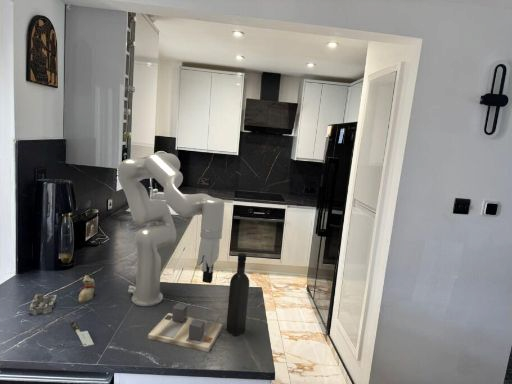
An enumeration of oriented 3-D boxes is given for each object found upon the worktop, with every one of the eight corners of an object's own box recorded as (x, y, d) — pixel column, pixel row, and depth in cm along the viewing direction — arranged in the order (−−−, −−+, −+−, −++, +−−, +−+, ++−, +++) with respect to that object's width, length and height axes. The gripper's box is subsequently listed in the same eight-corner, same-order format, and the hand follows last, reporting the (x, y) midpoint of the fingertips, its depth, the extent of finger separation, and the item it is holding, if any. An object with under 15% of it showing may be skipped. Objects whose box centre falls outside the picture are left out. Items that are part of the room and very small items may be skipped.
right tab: (188, 338, 114) (189, 324, 114) (193, 331, 118) (194, 318, 117) (199, 340, 114) (200, 327, 113) (203, 334, 118) (204, 321, 117)
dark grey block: (172, 320, 124) (172, 308, 123) (176, 315, 128) (177, 302, 127) (182, 322, 123) (183, 310, 123) (186, 317, 127) (187, 304, 126)
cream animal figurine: (99, 296, 140) (99, 274, 138) (80, 303, 133) (80, 280, 132) (92, 292, 143) (92, 270, 141) (73, 298, 136) (73, 275, 135)
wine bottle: (224, 330, 125) (231, 253, 120) (236, 325, 129) (242, 250, 124) (234, 337, 121) (241, 258, 116) (246, 332, 125) (253, 255, 120)
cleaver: (99, 341, 111) (83, 344, 108) (98, 345, 111) (82, 348, 108) (85, 318, 123) (70, 320, 120) (84, 321, 123) (69, 324, 120)
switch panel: (148, 338, 116) (148, 333, 115) (168, 316, 130) (168, 312, 130) (208, 352, 111) (208, 347, 111) (222, 327, 126) (222, 323, 126)
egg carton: (36, 302, 132) (36, 292, 131) (58, 300, 134) (58, 291, 134) (27, 316, 122) (26, 306, 121) (50, 314, 124) (50, 304, 124)
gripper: (208, 226, 126) (204, 271, 129) (192, 237, 111) (189, 288, 115) (227, 229, 124) (223, 275, 128) (214, 240, 110) (210, 292, 113)
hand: (207, 281), depth 121 cm, fingers closed
